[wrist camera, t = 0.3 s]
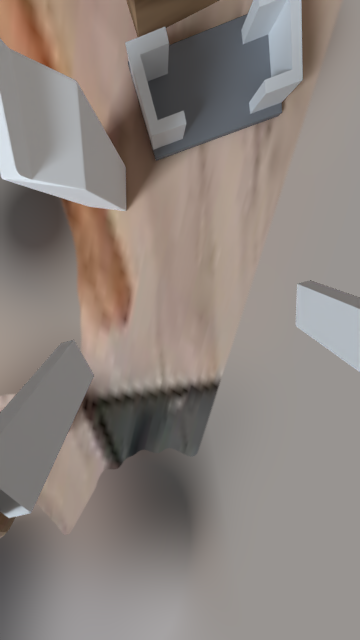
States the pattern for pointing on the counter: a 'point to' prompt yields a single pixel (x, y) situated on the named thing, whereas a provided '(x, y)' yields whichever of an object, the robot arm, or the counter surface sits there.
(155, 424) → the counter surface
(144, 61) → the endcap rail
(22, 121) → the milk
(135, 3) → the slat
